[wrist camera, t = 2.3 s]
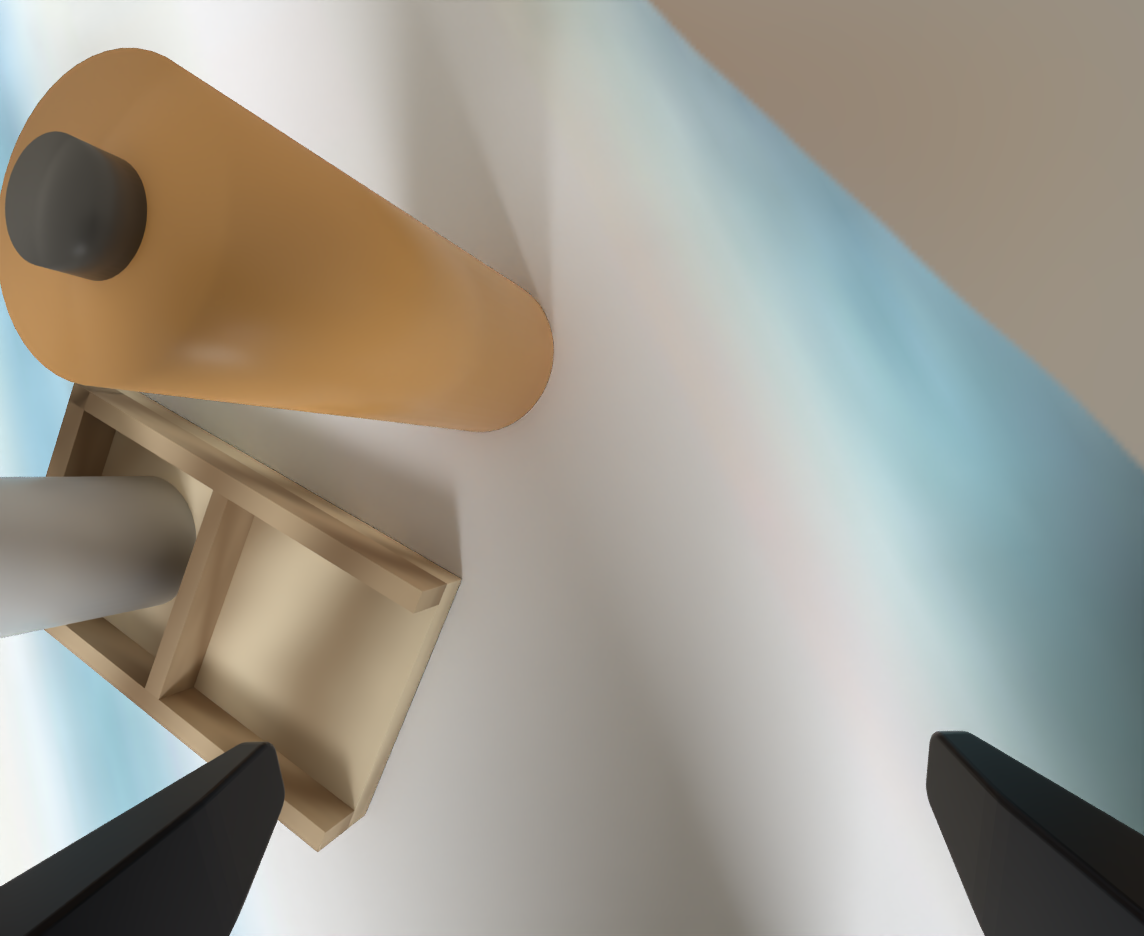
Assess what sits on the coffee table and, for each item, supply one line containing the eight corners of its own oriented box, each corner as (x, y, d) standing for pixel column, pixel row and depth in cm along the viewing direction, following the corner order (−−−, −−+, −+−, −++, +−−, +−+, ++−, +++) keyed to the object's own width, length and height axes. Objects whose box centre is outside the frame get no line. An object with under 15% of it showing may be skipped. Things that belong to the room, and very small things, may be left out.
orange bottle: (569, 408, 21) (211, 313, 8) (433, 448, 23) (-36, 420, 10) (534, 256, 22) (143, -56, 9) (403, 307, 24) (-82, 108, 11)
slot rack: (461, 578, 23) (422, 591, 20) (364, 815, 24) (317, 852, 22) (134, 389, 28) (74, 382, 26) (70, 590, 30) (8, 600, 27)
